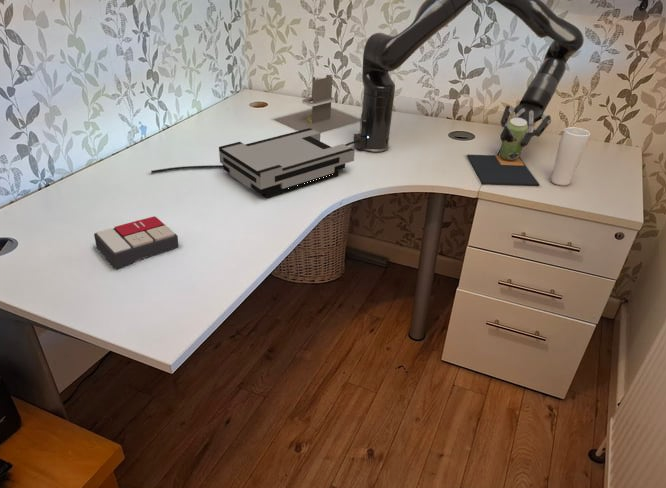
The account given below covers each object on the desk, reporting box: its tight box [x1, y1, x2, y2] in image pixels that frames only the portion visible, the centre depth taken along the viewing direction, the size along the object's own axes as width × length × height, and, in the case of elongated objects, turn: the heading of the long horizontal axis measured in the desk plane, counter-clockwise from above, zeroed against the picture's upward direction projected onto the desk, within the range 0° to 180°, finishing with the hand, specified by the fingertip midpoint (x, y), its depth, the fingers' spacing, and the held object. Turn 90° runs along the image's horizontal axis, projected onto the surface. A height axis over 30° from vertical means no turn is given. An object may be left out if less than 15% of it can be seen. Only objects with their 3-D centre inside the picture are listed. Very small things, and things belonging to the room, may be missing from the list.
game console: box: [218, 128, 356, 200], centre depth 150 cm, size 21×32×8 cm, turn 127°
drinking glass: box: [550, 126, 591, 187], centre depth 147 cm, size 7×7×15 cm
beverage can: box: [499, 117, 529, 160], centre depth 158 cm, size 6×7×12 cm
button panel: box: [94, 215, 180, 269], centre depth 118 cm, size 11×4×15 cm
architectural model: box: [273, 74, 361, 134], centre depth 185 cm, size 20×25×15 cm
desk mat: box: [466, 154, 540, 187], centre depth 158 cm, size 16×20×1 cm
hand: (512, 142), depth 158 cm, fingers closed on beverage can, 5 cm apart
